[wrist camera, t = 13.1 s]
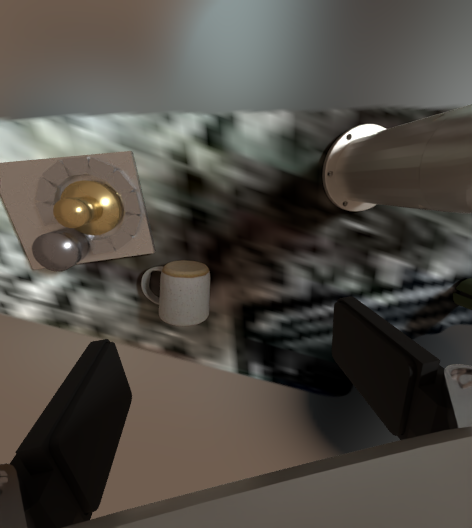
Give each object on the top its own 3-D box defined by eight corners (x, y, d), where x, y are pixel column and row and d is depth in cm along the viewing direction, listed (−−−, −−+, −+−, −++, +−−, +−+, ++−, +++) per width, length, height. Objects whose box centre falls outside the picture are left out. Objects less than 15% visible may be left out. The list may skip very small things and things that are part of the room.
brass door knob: (113, 177, 31) (91, 176, 25) (128, 229, 33) (111, 239, 27) (58, 184, 30) (21, 184, 24) (77, 236, 33) (48, 248, 26)
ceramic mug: (210, 258, 38) (211, 275, 31) (208, 303, 41) (209, 328, 33) (142, 256, 36) (127, 273, 29) (144, 302, 39) (131, 329, 32)
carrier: (133, 152, 31) (122, 147, 27) (155, 250, 36) (149, 260, 32) (-5, 164, 30) (-41, 161, 25) (38, 266, 34) (14, 279, 30)
